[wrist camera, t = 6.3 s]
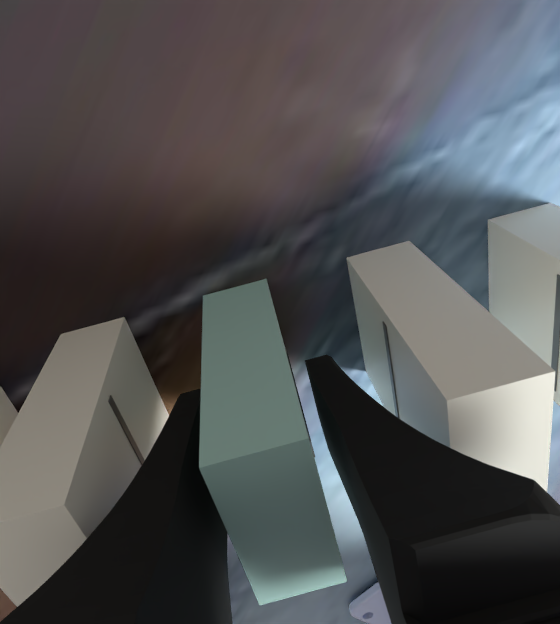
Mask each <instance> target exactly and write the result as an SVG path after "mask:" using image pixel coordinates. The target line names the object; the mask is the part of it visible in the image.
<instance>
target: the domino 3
mask: <svg viewBox="0 0 560 624" xmlns="http://www.w3.org/2000/svg"><path fill="white" fill-rule="evenodd" d="M346 259H347V265H348V271H349V276H350V282H351V288H352V294H353V300H354V305H355V311H356V317H357V323H358V328H359V334H360V340H361V346H362V352H363V357H364V363H365V369H366V372H367V374H368V376H369V378H370V380H371V382H372V384H373V386H374V388H375V390H376V392H377V394H378V396H379V398H380V400H381V402H382V404H383V406H384V408H386V409H387V410H388V411H390V412H391V413H392V414H394V415H395V416H396V417H398V418H399V419H401V420H402V421H404V422H405V423H407V424H408V425H410V426H412V427H413V428H415V429H416V430H418V431H420V432H421V433H423V434H425V435H427V436H428V437H430V438H432V439H434V440H435V441H437V442H439V443H441V444H443V445H445V446H448V447H450V448H452V449H454V450H456V451H458V452H460V453H462V454H464V455H466V456H469V457H471V458H474V459H476V460H478V461H481V462H483V463H486V464H488V465H491V466H494V467H497V468H500V469H503V470H506V471H509V472H512V473H515V474H518V475H521V476H524V477H527V478H530V479H533V480H535V481H536V482H537V483H538V484H539V485H540V486H541V487H542V488H543V489H544V490H545V491H546V492H547V485H548V470H549V456H550V442H551V427H552V413H553V399H554V384H555V370H554V369H552V368H551V367H550V366H549V365H548V364H547V363H546V362H545V361H543V360H542V359H541V358H540V357H539V356H538V355H537V354H536V353H534V352H533V351H532V350H531V349H530V348H529V347H528V346H527V345H526V344H524V343H523V342H522V341H521V340H520V339H519V338H518V337H517V336H515V335H514V334H513V333H512V332H511V331H510V330H509V329H508V328H506V327H505V326H504V325H503V324H502V323H501V322H500V321H499V320H498V319H496V318H495V317H494V316H493V315H492V314H491V313H490V312H489V311H487V310H486V309H485V308H484V307H483V306H482V305H481V304H480V303H478V302H477V301H476V300H475V299H474V298H473V297H472V296H471V295H470V294H468V293H467V292H466V291H465V290H464V289H463V288H462V287H461V286H459V285H458V284H457V283H456V282H455V281H454V280H453V279H452V278H450V277H449V276H448V275H447V274H446V273H445V272H444V271H443V270H442V269H440V268H439V267H438V266H437V265H436V264H435V263H434V262H433V261H431V260H430V259H429V258H428V257H427V256H426V255H425V254H424V253H422V252H421V251H420V250H419V249H418V248H417V247H416V246H415V245H414V244H412V243H411V242H410V241H406V242H402V243H399V244H395V245H391V246H387V247H384V248H380V249H376V250H372V251H369V252H365V253H361V254H358V255H354V256H350V257H346Z"/></svg>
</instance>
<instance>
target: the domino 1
mask: <svg viewBox="0 0 560 624" xmlns="http://www.w3.org/2000/svg"><path fill="white" fill-rule="evenodd" d="M168 417H169V414H168V412H167V410H166V408H165V406H164V403H163V401H162V399H161V397H160V394H159V392H158V390H157V388H156V386H155V383H154V381H153V379H152V377H151V375H150V372H149V370H148V368H147V366H146V363H145V361H144V359H143V357H142V355H141V352H140V350H139V348H138V346H137V343H136V341H135V339H134V337H133V335H132V332H131V330H130V328H129V326H128V323H127V321H126V319H125V317H122V318H119V319H115V320H111V321H108V322H104V323H100V324H96V325H93V326H89V327H85V328H81V329H78V330H74V331H70V332H66V333H63V334H61V335H60V336H59V338H58V340H57V342H56V344H55V346H54V348H53V349H52V351H51V353H50V355H49V357H48V359H47V361H46V363H45V364H44V366H43V368H42V370H41V372H40V374H39V376H38V378H37V379H36V381H35V383H34V385H33V387H32V389H31V391H30V392H29V394H28V396H27V398H26V400H25V402H24V404H23V406H22V407H21V409H20V411H19V413H18V415H17V417H16V419H15V421H14V422H13V424H12V426H11V428H10V430H9V432H8V434H7V435H6V437H5V439H4V441H3V443H2V445H1V447H0V588H1V589H2V591H3V592H4V593H5V594H6V595H7V596H8V597H9V598H10V600H11V601H12V602H13V603H14V604H15V605H16V606H17V607H18V606H19V605H20V604H21V603H22V602H24V601H25V600H26V599H27V598H28V597H29V596H30V595H32V594H33V593H34V592H35V591H36V590H37V589H38V588H39V587H40V586H41V585H42V584H44V583H45V582H46V581H47V580H48V579H49V578H50V577H51V576H52V575H53V574H54V573H55V572H56V571H57V570H58V569H59V568H60V567H61V566H62V565H63V564H64V563H65V562H66V561H67V560H68V559H69V558H70V557H71V556H72V555H73V553H74V552H75V551H76V550H77V549H78V548H79V547H80V546H81V545H82V544H83V543H84V541H85V540H86V539H87V538H88V537H89V536H90V534H91V533H92V532H93V531H94V530H95V529H96V527H97V526H98V525H99V524H100V523H101V522H102V521H103V519H104V518H105V517H106V516H107V515H108V513H109V512H110V511H111V509H112V508H113V507H114V505H115V504H116V503H117V501H118V500H119V499H120V498H121V496H122V495H123V493H124V492H125V491H126V489H127V488H128V486H129V485H130V483H131V482H132V480H133V479H134V477H135V475H136V474H137V472H138V471H139V469H140V467H141V466H142V464H143V463H144V461H145V459H146V458H147V456H148V454H149V453H150V451H151V449H152V447H153V445H154V443H155V442H156V440H157V438H158V436H159V434H160V433H161V431H162V429H163V427H164V425H165V423H166V421H167V419H168Z"/></svg>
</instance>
